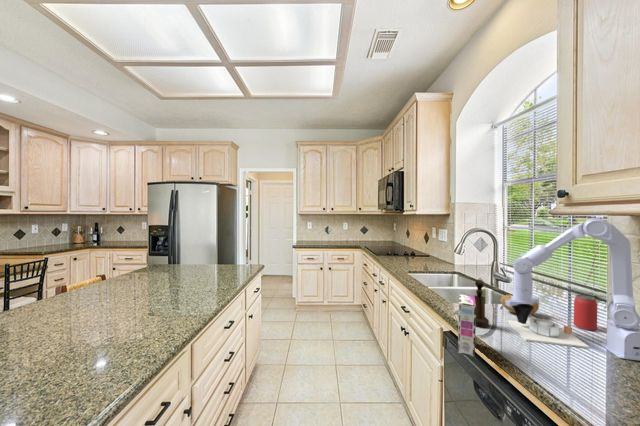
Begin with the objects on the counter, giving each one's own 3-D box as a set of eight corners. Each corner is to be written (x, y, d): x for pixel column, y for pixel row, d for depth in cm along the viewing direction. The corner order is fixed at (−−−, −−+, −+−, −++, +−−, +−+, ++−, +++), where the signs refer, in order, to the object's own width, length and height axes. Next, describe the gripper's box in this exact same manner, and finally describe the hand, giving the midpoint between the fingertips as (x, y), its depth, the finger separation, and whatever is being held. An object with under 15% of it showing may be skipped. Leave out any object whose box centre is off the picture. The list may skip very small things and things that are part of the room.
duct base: (589, 348, 91) (589, 334, 91) (525, 340, 96) (525, 327, 96) (560, 327, 107) (560, 315, 107) (507, 321, 112) (507, 310, 112)
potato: (498, 307, 128) (498, 290, 128) (535, 312, 122) (535, 294, 122) (502, 314, 119) (502, 296, 119) (542, 320, 113) (542, 301, 113)
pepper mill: (478, 320, 114) (479, 277, 113) (492, 326, 107) (493, 281, 107) (466, 322, 111) (466, 278, 111) (479, 328, 105) (480, 282, 105)
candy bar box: (475, 357, 85) (476, 305, 85) (457, 354, 87) (458, 303, 87) (474, 342, 95) (474, 295, 95) (458, 339, 97) (458, 293, 97)
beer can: (601, 332, 103) (602, 300, 103) (581, 330, 104) (581, 299, 104) (588, 324, 109) (589, 295, 109) (569, 323, 111) (569, 294, 110)
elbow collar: (565, 336, 97) (565, 327, 97) (543, 336, 97) (543, 327, 97) (534, 321, 111) (534, 313, 111) (514, 321, 110) (514, 313, 110)
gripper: (526, 284, 112) (526, 316, 112) (498, 286, 108) (498, 320, 108) (544, 289, 105) (544, 323, 105) (515, 291, 101) (514, 328, 101)
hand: (521, 322), depth 106 cm, fingers closed
